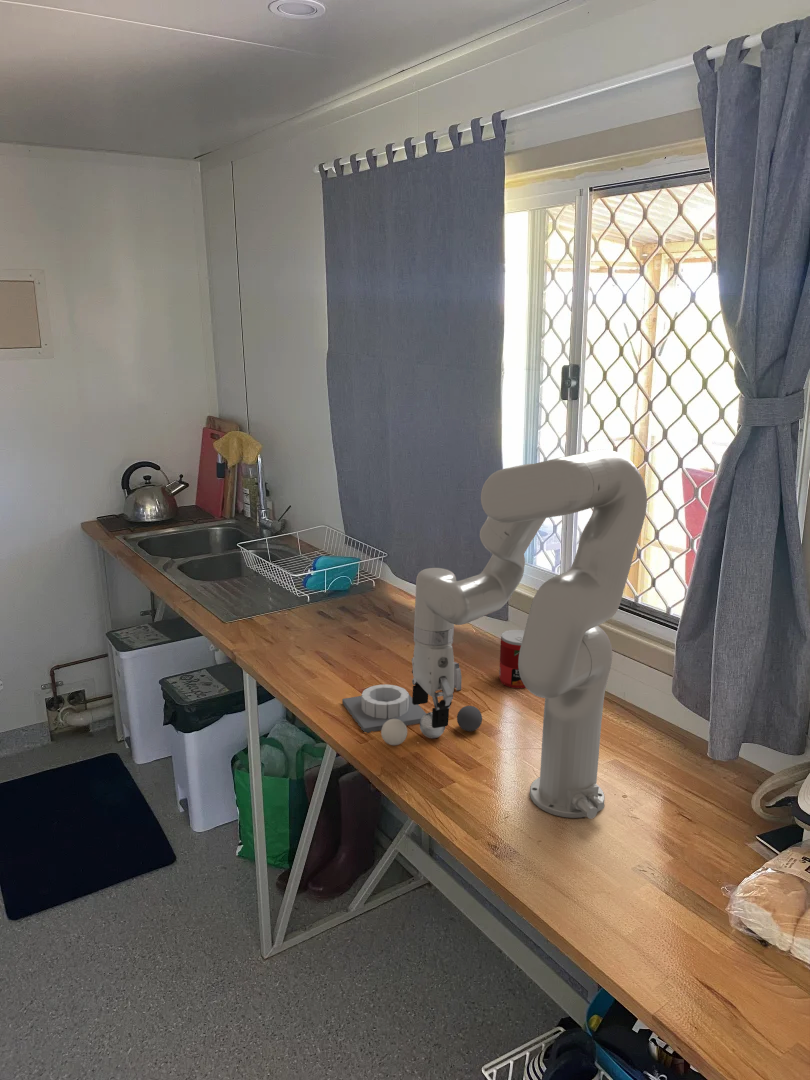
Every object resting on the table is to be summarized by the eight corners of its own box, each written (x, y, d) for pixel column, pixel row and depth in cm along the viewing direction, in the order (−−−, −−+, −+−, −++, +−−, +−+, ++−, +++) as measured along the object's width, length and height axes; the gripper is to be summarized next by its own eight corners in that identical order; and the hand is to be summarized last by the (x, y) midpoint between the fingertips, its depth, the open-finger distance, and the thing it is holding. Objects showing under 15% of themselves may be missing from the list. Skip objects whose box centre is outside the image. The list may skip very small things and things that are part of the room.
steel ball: (449, 740, 166) (449, 716, 164) (425, 744, 164) (426, 721, 163) (438, 728, 170) (439, 705, 169) (415, 733, 168) (415, 709, 167)
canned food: (514, 691, 187) (516, 645, 184) (491, 678, 194) (493, 633, 191) (540, 684, 191) (543, 638, 188) (518, 671, 198) (520, 627, 195)
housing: (429, 721, 173) (429, 703, 172) (364, 733, 168) (364, 714, 167) (403, 693, 186) (404, 676, 185) (342, 703, 181) (342, 685, 179)
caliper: (461, 691, 187) (462, 665, 186) (457, 692, 187) (458, 666, 185) (418, 658, 205) (418, 633, 203) (414, 659, 204) (414, 634, 203)
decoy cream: (411, 747, 163) (411, 723, 161) (386, 752, 161) (386, 728, 160) (401, 735, 167) (401, 712, 166) (377, 739, 165) (377, 716, 164)
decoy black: (486, 733, 169) (487, 710, 167) (463, 737, 167) (463, 714, 165) (474, 722, 173) (475, 699, 172) (452, 726, 171) (453, 703, 170)
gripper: (471, 648, 155) (466, 732, 160) (433, 615, 171) (429, 692, 175) (433, 653, 152) (429, 739, 157) (398, 619, 168) (395, 697, 173)
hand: (429, 714), depth 166 cm, fingers open, 9 cm apart
